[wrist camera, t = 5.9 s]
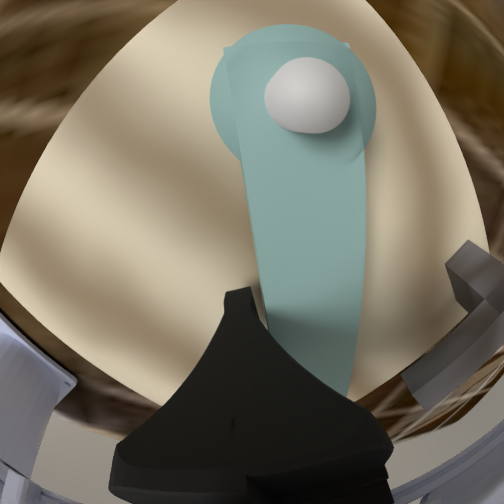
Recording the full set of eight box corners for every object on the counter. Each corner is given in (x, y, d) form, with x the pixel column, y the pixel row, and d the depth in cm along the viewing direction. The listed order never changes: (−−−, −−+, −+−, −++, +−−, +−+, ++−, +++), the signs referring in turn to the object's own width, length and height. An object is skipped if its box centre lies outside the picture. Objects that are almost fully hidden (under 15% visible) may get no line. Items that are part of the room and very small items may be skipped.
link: (206, 58, 7) (192, 18, 4) (330, 49, 7) (381, 17, 4) (268, 395, 13) (276, 448, 10) (338, 380, 13) (356, 429, 10)
